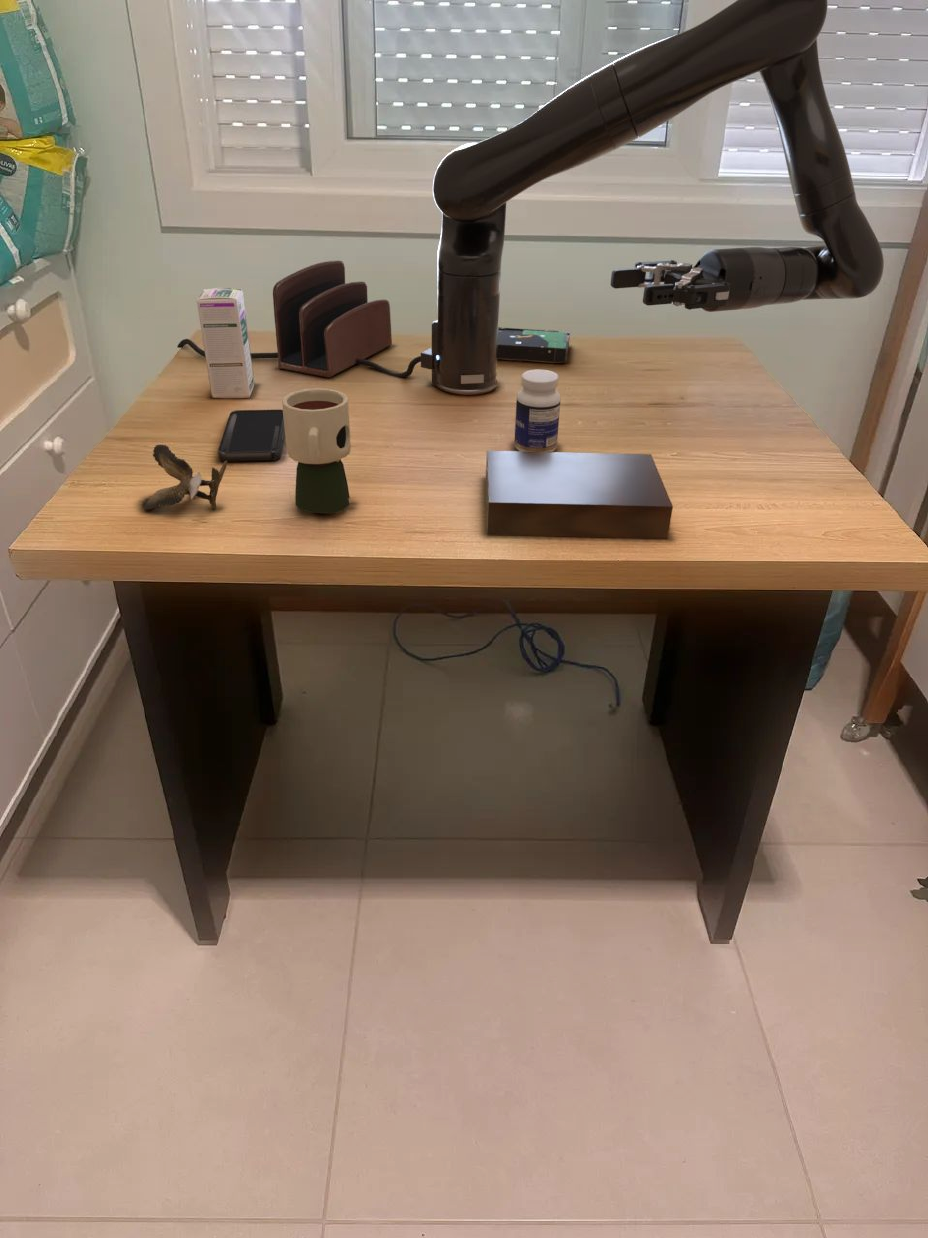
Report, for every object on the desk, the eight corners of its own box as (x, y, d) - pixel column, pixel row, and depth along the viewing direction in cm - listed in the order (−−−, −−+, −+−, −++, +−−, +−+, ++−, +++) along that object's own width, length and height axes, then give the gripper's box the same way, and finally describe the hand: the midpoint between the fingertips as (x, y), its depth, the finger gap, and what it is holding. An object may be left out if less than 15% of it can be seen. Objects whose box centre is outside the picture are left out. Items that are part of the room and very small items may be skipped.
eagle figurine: (232, 478, 106) (158, 461, 105) (224, 446, 99) (145, 427, 99) (212, 534, 103) (136, 516, 103) (203, 504, 96) (121, 484, 96)
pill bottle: (511, 439, 120) (515, 367, 115) (552, 439, 121) (558, 367, 115) (517, 457, 116) (521, 382, 110) (560, 456, 116) (566, 382, 110)
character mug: (352, 529, 98) (345, 417, 91) (287, 530, 98) (275, 417, 91) (356, 486, 107) (350, 381, 100) (296, 486, 107) (286, 381, 100)
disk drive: (478, 360, 149) (567, 364, 147) (479, 343, 147) (568, 347, 146) (485, 341, 157) (569, 345, 156) (485, 325, 156) (570, 329, 154)
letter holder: (277, 369, 142) (268, 277, 135) (344, 337, 157) (339, 253, 149) (330, 379, 139) (323, 286, 131) (393, 345, 154) (390, 260, 146)
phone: (216, 453, 112) (231, 410, 124) (218, 462, 112) (232, 417, 124) (280, 452, 112) (288, 409, 125) (281, 460, 113) (288, 416, 125)
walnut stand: (487, 534, 98) (488, 502, 96) (485, 480, 110) (486, 450, 107) (667, 538, 98) (673, 506, 96) (646, 484, 110) (651, 453, 107)
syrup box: (250, 398, 131) (238, 297, 123) (210, 398, 131) (195, 297, 123) (255, 385, 136) (244, 287, 128) (216, 385, 136) (202, 287, 128)
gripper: (713, 237, 118) (604, 243, 114) (778, 260, 107) (661, 268, 103) (704, 295, 122) (599, 303, 118) (765, 323, 111) (652, 333, 107)
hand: (628, 287), depth 110 cm, fingers open, 8 cm apart
